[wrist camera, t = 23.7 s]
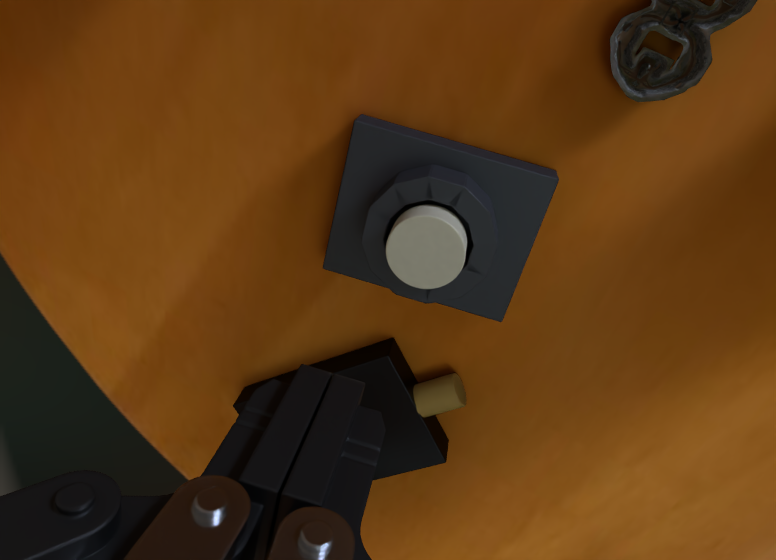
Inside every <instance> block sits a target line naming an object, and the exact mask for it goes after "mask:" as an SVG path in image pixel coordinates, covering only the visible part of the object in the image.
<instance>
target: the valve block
mask: <svg viewBox="0 0 776 560" xmlns="http://www.w3.org/2000/svg"><path fill="white" fill-rule="evenodd" d="M309 366H311V367H314V368H318V369H321V370H324V371H327V372H331V373H333V376H334V374H338V375H341V376H344V377H348V378H351V379H354V380H358V381H361V382H364V383H365V387H364V391H363V395H362V399H361V402H360V406H364V407H367V408H370V409H373V410H377V411H380V412H381V414H382V418H383V421H384V425H385V429H386V431H385V435H384V439H383V443H382V446H381V450H380V454H379V457H378V461H377V465H376V469H375V472H374V476H373V480H376V479H380V478H385V477H389V476H393V475H397V474H401V473H405V472H409V471H413V470H417V469H421V468H425V467H430V466H434V465H438V464H442V463H446V460H447V451H448V442H449V440H448V438H447V437H446V435H445V433H444V431H443V429H442V427H441V425H440V423H439V422H438V420H437V418H436V416H435V415H436V414H439V413H443V412H447V411H450V410H454V409H457V408H461V407H464V406H465V405H466V393H465V389H464V386H463V383H462V381H461V379H460V377H459V376H458V375H457V374H456V373H452V374H449V375H446V376H442V377H439V378H436V379H432V380H429V381H426V382H422V383H419V384H418V382H417V380H416V379H415V377H414V375H413V373H412V371H411V369H410V367H409V366H408V364H407V362H406V360H405V358H404V356H403V354H402V352H401V351H400V349H399V347H398V345H397V343H396V341H395V339H394V338H391V339H388V340H385V341H381V342H378V343H375V344H372V345H369V346H366V347H363V348H360V349H357V350H354V351H351V352H348V353H345V354H342V355H339V356H336V357H333V358H330V359H327V360H324V361H321V362H318V363H315V364H312V365H309ZM297 371H298V369H297V370H294V371H291V372H288V373H285V374H282V375H279V376H276V377H273V378H270V379H267V380H264V381H261V382H258V383H255V384H252V385H249V386H246V387H244V389H243V390H242V392H241V394H240V395H239V397H238V398H237V400H236V401H235V403H234V405H233V407H234V408H235V410H236V411H237V413H238V414H240V413H241V411H242V410H244V407H245V405H246V403H247V402H248V400H249V398H250V397H251V395H252V394H253V392H254V390H256V389H257V388H259V387H260V386H262V385H263V384H265V383H267V382H268V381H270V380H271V379H275V380H278V381H281V382H284V383H288V384H291V382H292V380H293V378H294V376H295V374H296V373H297ZM332 378H333V377H332Z"/></svg>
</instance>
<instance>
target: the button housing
mask: <svg viewBox="0 0 776 560" xmlns="http://www.w3.org/2000/svg"><path fill="white" fill-rule="evenodd" d="M558 181H559V179H558V176H557V173H556V171H555V170H552V169H549V168H546V167H542V166H539V165H535V164H532V163H528V162H525V161H521V160H518V159H514V158H511V157H508V156H504V155H501V154H497V153H494V152H490V151H487V150H483V149H480V148H476V147H473V146H470V145H466V144H463V143H459V142H456V141H452V140H449V139H445V138H442V137H439V136H435V135H432V134H428V133H425V132H421V131H418V130H414V129H411V128H407V127H404V126H401V125H397V124H394V123H390V122H387V121H383V120H380V119H376V118H373V117H369V116H366V115H363V114H362V115H360V116H359V117H358V118H357V119H356V120H355V121H354V124H353V129H352V134H351V138H350V143H349V148H348V152H347V157H346V162H345V166H344V171H343V176H342V180H341V185H340V190H339V194H338V199H337V204H336V208H335V213H334V217H333V222H332V227H331V231H330V236H329V241H328V245H327V250H326V255H325V259H324V264H323V269H326V270H329V271H333V272H336V273H339V274H343V275H346V276H349V277H353V278H356V279H359V280H363V281H366V282H369V283H373V284H376V285H379V286H383V287H386V288H389V289H390V290H391V291H393V292H394V293H395V294H396V295H400V296H403V297H406V298H410V299H413V300H416V301H420V302H423V303H434V302H436V303H439V304H442V305H446V306H449V307H452V308H456V309H459V310H462V311H466V312H469V313H472V314H476V315H479V316H482V317H486V318H489V319H492V320H496V321H499V322H502V320H503V318H504V315H505V313H506V310H507V308H508V305H509V303H510V300H511V298H512V295H513V293H514V290H515V288H516V285H517V283H518V280H519V278H520V275H521V273H522V270H523V268H524V265H525V263H526V260H527V258H528V256H529V253H530V251H531V248H532V246H533V243H534V241H535V238H536V236H537V233H538V231H539V228H540V226H541V223H542V221H543V218H544V216H545V213H546V211H547V208H548V206H549V203H550V201H551V198H552V196H553V193H554V191H555V188H556V186H557V183H558ZM424 204H431V205H437V206H441V207H444V208H446V209H448V210H449V211H451V212H452V213H454V214H455V215H456V216H457V217H458V218H459V220H460V221H461V222H462V224H463V226H464V228H465V231H466V234H467V249H466V257H465V263H464V266H463V268H462V270H461V272H460V273H459V274H458V276H457V277H456V278H455V279H454V280H453V281H451V282H450V283H448V284H446V285H444V286H442V287H439V288H434V289H420V288H416V287H413V286H410V285H408V284H406V283H404V282H403V281H401V280H400V279H399V278H398V277H397V276H396V275H395V274H394V273H393V271H392V270H391V268H390V266H389V264H388V262H387V258H386V243H387V240H388V237H389V234H390V232H391V230H392V228H393V225H394V224H395V222H396V220H397V219H398V217H399V216H400V215H401V214H402V213H404V212H405V211H406V210H408V209H410V208H412V207H414V206H418V205H424Z"/></svg>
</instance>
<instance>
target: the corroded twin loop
mask: <svg viewBox="0 0 776 560" xmlns="http://www.w3.org/2000/svg"><path fill="white" fill-rule="evenodd" d="M756 2H757V0H716V1H715V2H714V4H713V5H712V6H707V5H705V4H703V3H701V2H700V1H698V0H652V3H651V5H650V7H647V8H645V9H642V10H640V11H638V12H635V13H631V14H629V15H627V16H625V17H624V18H622V19H621V21H620V22H619V24H618V25H617V27H616V29H615V31H614V32H613V34H612V36H611V38H610V46H611V54H610V61H611V69H612V73H613V77H614V78H615V79H616V80H617V82H618V83H619V85H620V87H621V89H622V90H623V91H624V92H625V94H626V96H627V97H629V98H630V99H633V100H635V101H637V102H646V101H657V100H665V99H667V98H670V97H672V96H675V95H678V94H680V93H683V92H685V91H686V90H687V89H688V88H690V87H693V86H695V85H696V84H697V83H698V82H699V81H700V79H701V78H702V76H703V75H704V73H705V72H706V70H707V69H708V67H709V66H710V64H711V62H712V54H711V46H710V35H711V34H712V33H714V32H715V31H717V30H720V29H723V28H725V27H726V26H728V25H730V24H731V23H733V22H734V21H736V20H738V19H739V18H741V17H742V16H744V15H745V14H747V13H748V12H750V11H751V9H752V8H753V6H754V5H755V3H756ZM654 30H655V31H657V32H659V33H661V34H662V35H664V36H665V37H667V38H669V39H672V40H675V41H678V42H680V43H681V44H682V45H683V48H684V49H683V51H682V53H681V55H680V57H678V59H677V61H676V63H675V64H674V66H673V67H672V69H671V70H670V67H671V66H672V64H673V62H674V60H672V59H670V58H668V57H666V56H664V55H662V54H660V53H658V52H655V51H653V50H650V49H648V48H645V47H643V49H642V50H641V52H640V53H639V54H638V55H636V52H637V50H638V48H639V47H640V45H641V43H642V42H643V40H644V38H645V37H646V35H647V34H648V32H649V31H654Z"/></svg>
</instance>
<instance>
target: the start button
mask: <svg viewBox="0 0 776 560" xmlns="http://www.w3.org/2000/svg"><path fill="white" fill-rule="evenodd" d="M466 249H467V234H466V231H465V228H464V226H463V224H462V222H461V221H460V220H459V218H458V217H457V216H456V215H455V214H454V213H452V212H451V211H449V210H448V209H446V208H444V207H441V206H437V205H431V204H424V205H418V206H414V207H412V208H410V209H408V210H406V211H405V212H404V213H402V214H401V215H400V216H399V217H398V219H397V220H396V222H395V224H394V225H393V228H392V230H391V232H390V234H389V237H388V240H387V243H386V258H387V262H388V264H389V266H390V268H391V270H392V271H393V273H394V274H395V275H396V276H397V277H398V278H399V279H400V280H401V281H403V282H404V283H406V284H408V285H410V286H413V287H416V288H420V289H434V288H439V287H442V286H444V285H446V284H448V283H450V282H451V281H453V280H454V279H455V278H456V277H457V276H458V274H459V273H460V272H461V270H462V268H463V266H464V263H465V257H466Z"/></svg>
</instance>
